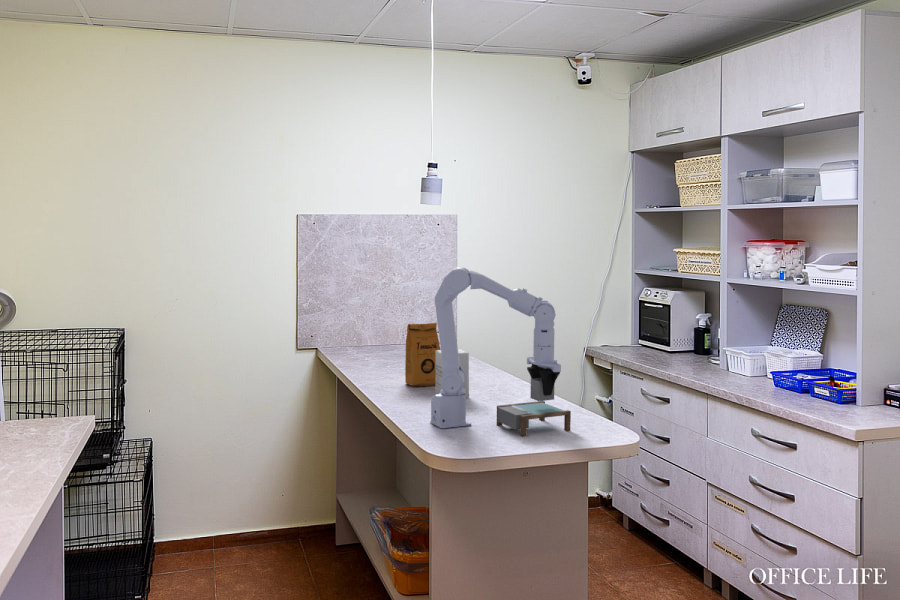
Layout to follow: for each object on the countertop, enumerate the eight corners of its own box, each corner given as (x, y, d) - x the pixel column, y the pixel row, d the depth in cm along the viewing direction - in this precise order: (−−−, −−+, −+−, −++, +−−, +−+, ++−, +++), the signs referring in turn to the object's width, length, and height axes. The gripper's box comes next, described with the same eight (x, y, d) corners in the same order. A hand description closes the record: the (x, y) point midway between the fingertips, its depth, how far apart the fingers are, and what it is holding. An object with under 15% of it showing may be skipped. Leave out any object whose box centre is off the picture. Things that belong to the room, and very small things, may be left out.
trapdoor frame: (522, 436, 211) (522, 416, 210) (496, 424, 223) (496, 405, 223) (570, 430, 217) (570, 411, 217) (542, 419, 230) (542, 400, 229)
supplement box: (460, 392, 267) (460, 348, 266) (469, 398, 259) (469, 352, 257) (434, 394, 264) (434, 349, 263) (442, 399, 256) (443, 353, 254)
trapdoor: (516, 430, 211) (517, 415, 211) (496, 421, 221) (497, 407, 221) (564, 424, 218) (564, 410, 218) (542, 415, 228) (542, 402, 227)
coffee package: (444, 386, 277) (444, 324, 275) (409, 388, 273) (409, 325, 271) (436, 381, 286) (436, 320, 284) (403, 383, 283) (403, 321, 281)
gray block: (538, 401, 218) (539, 381, 217) (530, 398, 222) (530, 378, 221) (554, 399, 220) (554, 380, 219) (545, 396, 224) (545, 377, 223)
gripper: (570, 347, 215) (569, 397, 216) (542, 340, 228) (541, 387, 229) (548, 349, 212) (547, 399, 213) (520, 342, 225) (520, 389, 226)
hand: (542, 393), depth 221 cm, fingers closed on gray block, 4 cm apart
